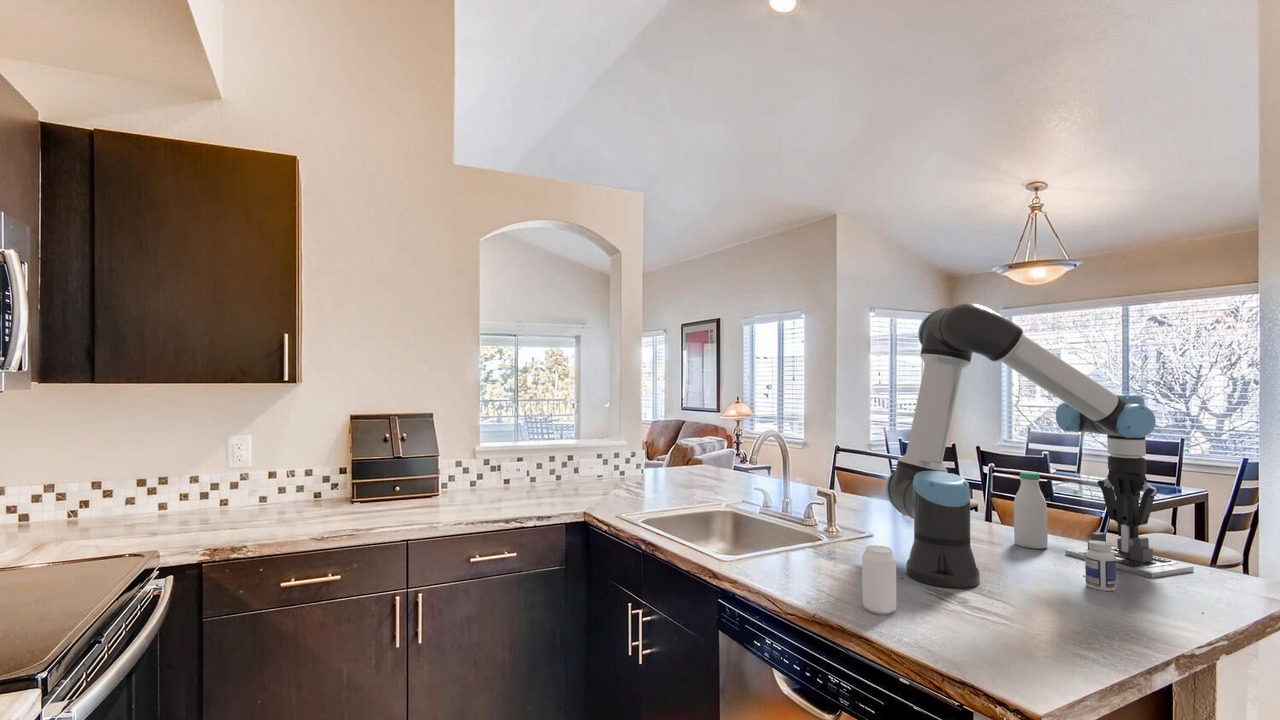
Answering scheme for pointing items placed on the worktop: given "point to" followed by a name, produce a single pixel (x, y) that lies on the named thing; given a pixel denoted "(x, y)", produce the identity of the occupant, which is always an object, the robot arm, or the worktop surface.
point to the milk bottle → (1030, 513)
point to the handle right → (1119, 544)
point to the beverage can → (879, 580)
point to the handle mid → (1141, 550)
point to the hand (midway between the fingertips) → (1128, 551)
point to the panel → (1139, 564)
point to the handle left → (1097, 537)
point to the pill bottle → (1100, 566)
